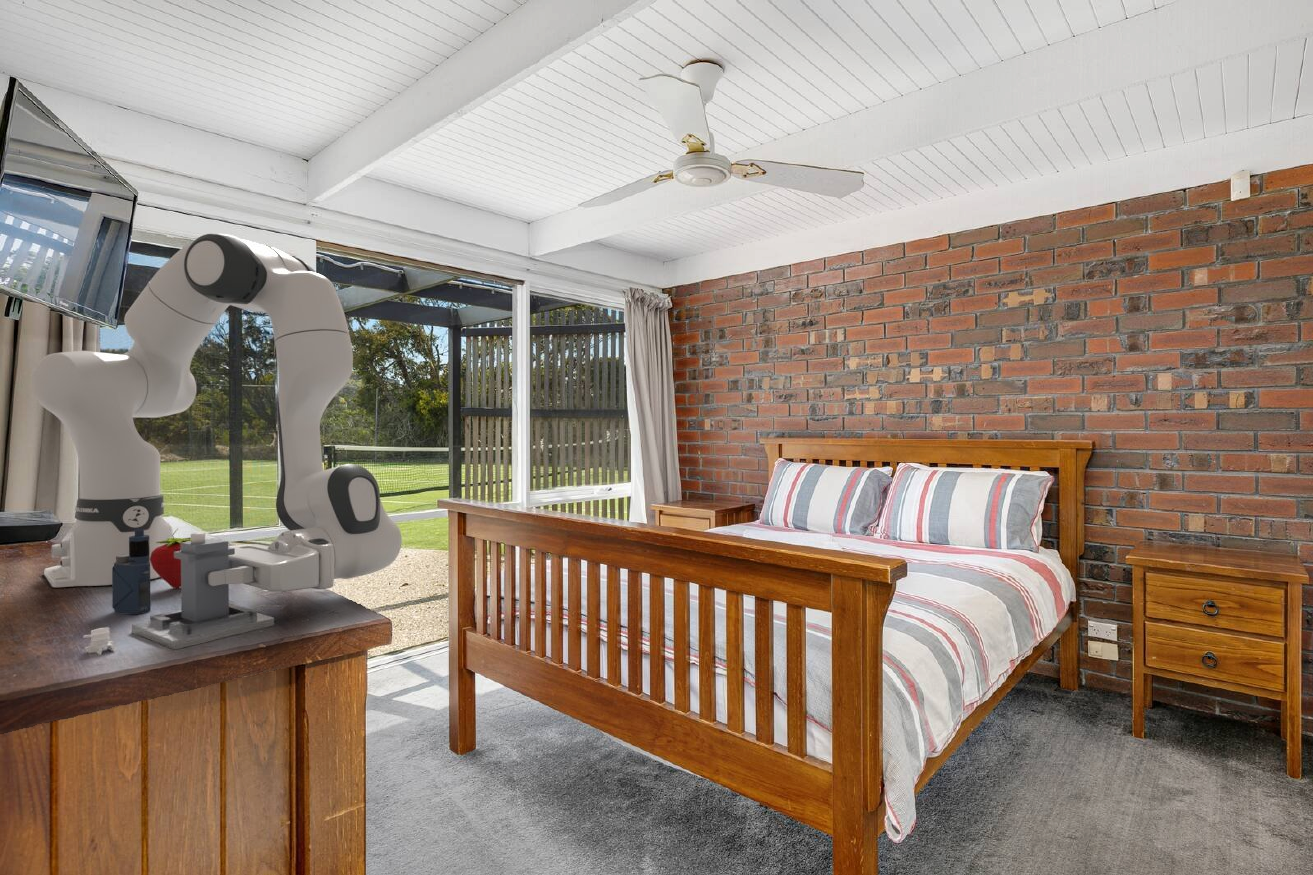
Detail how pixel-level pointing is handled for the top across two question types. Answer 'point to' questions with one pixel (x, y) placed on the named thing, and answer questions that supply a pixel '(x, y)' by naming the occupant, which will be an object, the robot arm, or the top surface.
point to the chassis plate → (200, 627)
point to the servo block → (203, 578)
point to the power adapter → (99, 640)
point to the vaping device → (132, 577)
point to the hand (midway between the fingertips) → (197, 576)
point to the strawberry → (168, 561)
